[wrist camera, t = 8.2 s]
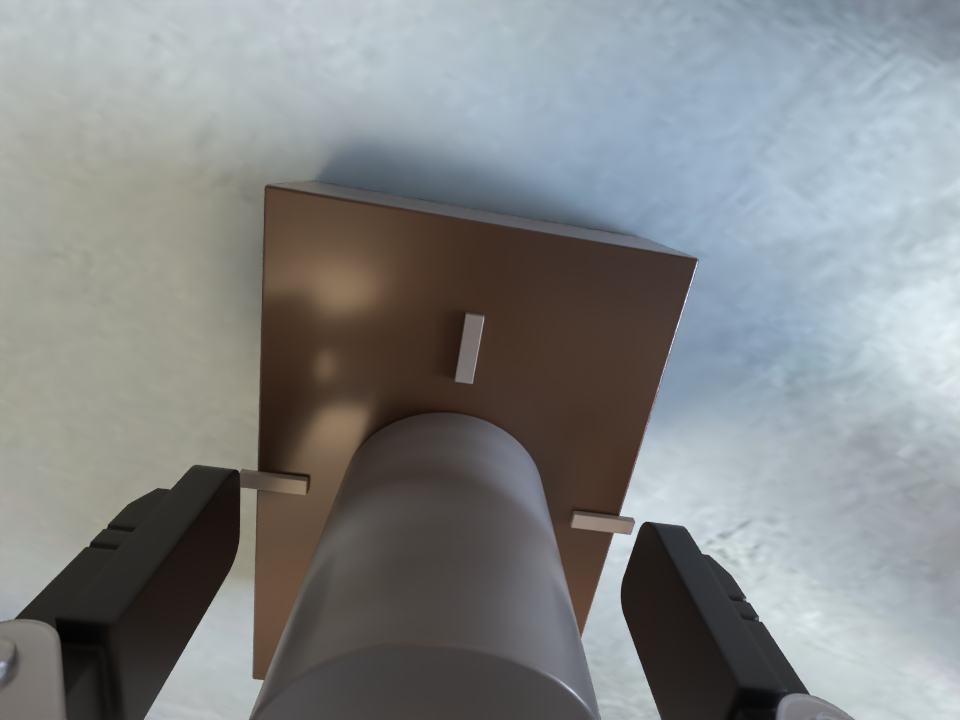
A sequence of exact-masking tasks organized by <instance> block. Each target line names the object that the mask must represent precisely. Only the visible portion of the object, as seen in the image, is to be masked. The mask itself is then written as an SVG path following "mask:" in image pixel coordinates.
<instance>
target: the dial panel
mask: <svg viewBox="0 0 960 720" xmlns="http://www.w3.org/2000/svg"><path fill="white" fill-rule="evenodd" d="M697 265H698V259H697V258H695V257H693V256H690V255H687V254H685V253H682V252H680V251H677V250H674V249H672V248H669V247H666V246H664V245H661V244H659V243H656V242H653V241H651V240H648V239H645V238H640V237H634V236H628V235H622V234H617V233H611V232H605V231H599V230H594V229H588V228H582V227H576V226H571V225H565V224H559V223H553V222H547V221H542V220H536V219H530V218H524V217H519V216H513V215H507V214H501V213H496V212H490V211H484V210H478V209H473V208H467V207H461V206H455V205H450V204H444V203H438V202H432V201H426V200H421V199H415V198H409V197H403V196H398V195H392V194H386V193H380V192H375V191H369V190H363V189H357V188H352V187H346V186H340V185H334V184H328V183H323V182H317V181H305V182H293V183H281V184H269V185H266V186H265V196H264V236H263V276H262V316H261V356H260V395H259V435H258V471H253V470H245V469H242V470H241V471H240V473H239V474H240V487H242V488H250V489H257V515H256V555H255V595H254V635H253V675H252V677H253V679H258V680H265V677H266V674H267V672H268V669H269V667H270V664H271V662H272V659H273V656H274V654H275V651H276V649H277V646H278V644H279V641H280V638H281V636H282V633H283V631H284V628H285V626H286V623H287V620H288V618H289V615H290V613H291V610H292V607H293V605H294V602H295V600H296V597H297V595H298V592H299V589H300V587H301V584H302V582H303V579H304V577H305V574H306V571H307V569H308V566H309V564H310V561H311V559H312V556H313V553H314V551H315V548H316V546H317V543H318V541H319V538H320V535H321V533H322V530H323V528H324V525H325V523H326V520H327V517H328V515H329V512H330V510H331V507H332V505H333V502H334V499H335V497H336V494H337V492H338V489H339V487H340V484H341V481H342V479H343V476H344V474H345V471H346V469H347V466H348V464H349V463H350V461H351V459H352V457H353V456H354V454H355V453H356V452H357V451H358V449H359V448H360V447H361V446H362V444H364V443H365V442H366V441H367V440H368V439H369V438H370V437H371V436H372V435H374V434H375V433H377V432H378V431H380V430H381V429H382V428H384V427H386V426H388V425H390V424H392V423H394V422H396V421H399V420H402V419H405V418H407V417H411V416H415V415H420V414H427V413H435V412H436V413H457V414H464V415H468V416H472V417H476V418H479V419H482V420H484V421H487V422H489V423H491V424H493V425H495V426H497V427H499V428H501V429H502V430H504V431H505V432H507V433H508V434H510V435H511V436H512V437H513V438H515V439H516V440H517V441H518V442H519V443H520V444H521V445H522V446H523V447H524V449H525V450H526V451H527V452H528V454H529V455H530V456H531V458H532V460H533V461H534V463H535V465H536V467H537V470H538V472H539V475H540V478H541V482H542V486H543V490H544V494H545V498H546V502H547V506H548V509H549V513H550V517H551V521H552V525H553V529H554V533H555V537H556V541H557V545H558V549H559V553H560V557H561V561H562V565H563V569H564V573H565V577H566V581H567V585H568V589H569V593H570V597H571V601H572V605H573V609H574V613H575V617H576V621H577V625H578V629H579V633H580V637H582V633H583V630H584V627H585V624H586V621H587V617H588V614H589V611H590V608H591V605H592V601H593V598H594V595H595V592H596V589H597V585H598V582H599V579H600V576H601V573H602V569H603V566H604V563H605V560H606V557H607V553H608V550H609V547H610V544H611V541H612V537H613V534H614V533H621V534H629V535H631V533H632V530H633V527H634V524H635V521H634V519H633V518H630V517H622V516H619V515H620V512H621V509H622V505H623V502H624V499H625V496H626V493H627V489H628V486H629V483H630V480H631V477H632V473H633V470H634V467H635V464H636V461H637V457H638V454H639V451H640V448H641V445H642V441H643V438H644V435H645V432H646V429H647V425H648V422H649V419H650V416H651V412H652V409H653V406H654V403H655V400H656V396H657V393H658V390H659V387H660V384H661V380H662V377H663V374H664V371H665V368H666V364H667V361H668V358H669V355H670V352H671V348H672V345H673V342H674V339H675V336H676V332H677V329H678V326H679V323H680V320H681V316H682V313H683V310H684V307H685V304H686V300H687V297H688V294H689V291H690V288H691V284H692V281H693V278H694V275H695V272H696V268H697Z"/></svg>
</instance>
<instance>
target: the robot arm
mask: <svg viewBox="0 0 960 720" xmlns="http://www.w3.org/2000/svg"><path fill="white" fill-rule="evenodd" d="M239 538H240V474H239V472H238V470H235V469H227V468H218V467H210V466H202V465H194V466H192V467H191V468H190V469H189V470H188V471H187V472H186V474H185V475H184V476H183V477H182V478H181V479H180V480H179V481H178V482H177V483H176V485H175V486H174V487H173V488H172V489H171V490H169V489H161V488H157V489H155V490H153V491H152V492H150V493H148V494H146V495H144V496H142V497H141V498H139V499H137V500H135V501H133V502H131V503H130V504H128V505H127V506H126V507H125V508H124V509H123V510H122V511H121V512H120V513H119V514H118V515H117V516H116V517H115V518H114V519H113V520H112V521H111V522H110V523H109V524H108V527H107V529H103V530H102V531H101V532H100V533H99V534H98V535H97V536H96V537H95V538H94V539H93V540H92V541H91V542H90V546H89V547H85V548H84V549H83V550H82V551H81V552H80V553H79V554H78V555H77V556H76V557H75V558H74V559H73V560H72V561H71V562H70V563H69V564H68V566H67V567H66V568H65V569H64V570H63V571H62V572H61V573H60V574H59V575H58V576H57V577H56V578H55V579H54V580H53V581H52V582H51V583H50V584H49V585H48V586H47V587H46V588H45V589H44V590H43V591H42V592H41V593H40V594H39V595H38V596H37V597H36V598H35V599H34V600H33V601H32V602H31V603H30V604H29V605H28V606H27V607H26V608H25V609H24V610H23V611H22V612H21V613H20V614H19V615H18V616H17V617H16V618H15V619H14V620H8V621H2V622H0V720H144V718H145V716H146V714H147V713H148V711H149V709H150V708H151V706H152V704H153V702H154V701H155V699H156V697H157V695H158V694H159V692H160V690H161V689H162V687H163V685H164V683H165V682H166V680H167V678H168V676H169V675H170V673H171V671H172V670H173V668H174V666H175V664H176V663H177V661H178V659H179V657H180V656H181V654H182V652H183V651H184V649H185V647H186V645H187V644H188V642H189V640H190V638H191V637H192V635H193V633H194V632H195V630H196V628H197V626H198V625H199V623H200V621H201V619H202V618H203V616H204V614H205V613H206V611H207V609H208V607H209V606H210V604H211V602H212V600H213V599H214V597H215V595H216V594H217V592H218V590H219V588H220V587H221V585H222V583H223V581H224V580H225V578H226V576H227V574H228V573H229V571H230V569H231V567H232V565H233V562H234V560H235V557H236V553H237V549H238V545H239ZM621 605H622V610H623V614H624V617H625V620H626V623H627V625H628V628H629V631H630V634H631V636H632V639H633V642H634V645H635V648H636V650H637V653H638V656H639V659H640V661H641V664H642V667H643V670H644V673H645V675H646V678H647V681H648V684H649V686H650V689H651V692H652V695H653V698H654V700H655V703H656V706H657V709H658V711H659V714H660V717H661V720H854V719H853V718H852V717H851V716H849V715H848V714H847V713H845V712H844V711H843V710H841V709H839V708H838V707H836V706H835V705H833V704H831V703H829V702H827V701H825V700H823V699H820V698H818V697H815V696H812V695H810V694H809V692H808V691H807V689H806V688H805V686H804V685H803V683H802V682H801V680H800V679H799V677H798V676H797V674H796V673H795V671H794V669H793V668H792V666H791V665H790V663H789V662H788V660H787V659H786V657H785V656H784V654H783V653H782V651H781V650H780V648H779V647H778V645H777V644H776V642H775V641H774V639H773V638H772V636H771V635H770V633H769V632H768V630H767V629H766V627H765V626H764V624H763V623H762V622H759V616H758V615H757V613H756V612H755V610H754V609H753V607H752V606H751V604H750V603H749V602H746V597H745V595H744V594H743V592H742V591H741V589H740V588H739V586H738V585H737V583H736V582H735V580H734V579H733V577H732V576H731V575H730V574H729V573H728V572H727V571H726V570H725V569H724V568H723V567H722V566H720V565H719V564H718V563H717V562H716V561H715V560H714V559H713V558H712V557H711V556H709V555H704V554H702V553H701V551H700V550H699V548H698V546H697V545H696V543H695V541H694V540H693V538H692V537H691V535H690V533H689V532H688V530H687V529H686V528H685V527H683V526H678V525H670V524H662V523H654V522H645V523H643V524H642V526H641V527H640V530H639V532H638V535H637V538H636V541H635V544H634V547H633V550H632V553H631V556H630V559H629V562H628V565H627V568H626V571H625V574H624V577H623V581H622V586H621Z"/></svg>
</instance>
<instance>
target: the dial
mask: <svg viewBox="0 0 960 720" xmlns="http://www.w3.org/2000/svg"><path fill="white" fill-rule="evenodd" d="M249 720H601V717H600V713H599V709H598V705H597V701H596V697H595V693H594V689H593V685H592V681H591V677H590V673H589V669H588V665H587V661H586V657H585V653H584V649H583V645H582V641H581V637H580V633H579V629H578V625H577V621H576V617H575V613H574V609H573V605H572V601H571V597H570V593H569V589H568V585H567V581H566V577H565V573H564V569H563V565H562V561H561V557H560V553H559V549H558V545H557V541H556V537H555V533H554V529H553V525H552V521H551V517H550V513H549V509H548V506H547V502H546V498H545V494H544V490H543V486H542V482H541V478H540V475H539V472H538V470H537V467H536V465H535V463H534V461H533V460H532V458H531V456H530V455H529V454H528V452H527V451H526V450H525V449H524V447H523V446H522V445H521V444H520V443H519V442H518V441H517V440H516V439H515V438H513V437H512V436H511V435H510V434H508V433H507V432H505V431H504V430H502V429H501V428H499V427H497V426H495V425H493V424H491V423H489V422H487V421H484V420H482V419H479V418H476V417H472V416H468V415H464V414H457V413H436V412H435V413H427V414H420V415H415V416H411V417H407V418H405V419H402V420H399V421H396V422H394V423H392V424H390V425H388V426H386V427H384V428H382V429H381V430H380V431H378V432H377V433H375V434H374V435H372V436H371V437H370V438H369V439H368V440H367V441H366V442H365V443H364V444H362V446H361V447H360V448H359V449H358V451H357V452H356V453H355V454H354V456H353V457H352V459H351V461H350V463H349V464H348V466H347V469H346V471H345V474H344V476H343V479H342V481H341V484H340V487H339V489H338V492H337V494H336V497H335V499H334V502H333V505H332V507H331V510H330V512H329V515H328V517H327V520H326V523H325V525H324V528H323V530H322V533H321V535H320V538H319V541H318V543H317V546H316V548H315V551H314V553H313V556H312V559H311V561H310V564H309V566H308V569H307V571H306V574H305V577H304V579H303V582H302V584H301V587H300V589H299V592H298V595H297V597H296V600H295V602H294V605H293V607H292V610H291V613H290V615H289V618H288V620H287V623H286V626H285V628H284V631H283V633H282V636H281V638H280V641H279V644H278V646H277V649H276V651H275V654H274V656H273V659H272V662H271V664H270V667H269V669H268V672H267V674H266V677H265V680H264V682H263V685H262V687H261V690H260V692H259V695H258V698H257V700H256V703H255V705H254V708H253V710H252V713H251V716H250V718H249Z"/></svg>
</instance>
